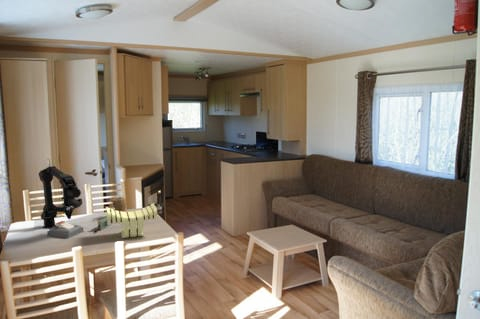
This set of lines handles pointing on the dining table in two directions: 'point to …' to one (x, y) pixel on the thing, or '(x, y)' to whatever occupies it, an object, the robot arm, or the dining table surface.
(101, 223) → the handheld radio
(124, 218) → the slatted curved stool
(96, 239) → the dining table surface
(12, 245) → the dining table surface
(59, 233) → the frame
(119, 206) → the stone cup
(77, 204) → the robot arm
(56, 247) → the dining table surface
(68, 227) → the breaker switch
